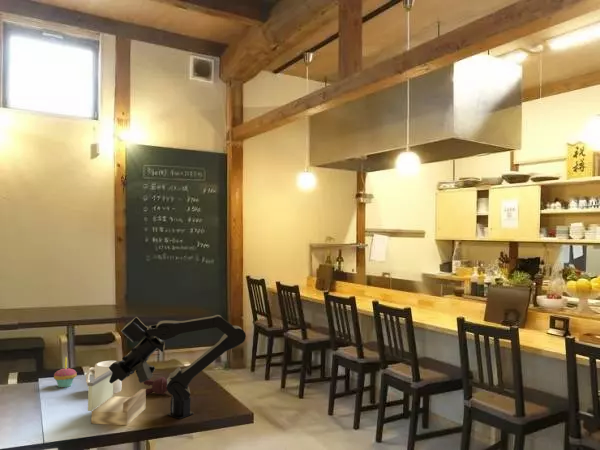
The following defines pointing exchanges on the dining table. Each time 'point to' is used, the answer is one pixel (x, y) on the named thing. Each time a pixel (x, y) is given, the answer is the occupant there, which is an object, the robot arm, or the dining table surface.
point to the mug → (101, 369)
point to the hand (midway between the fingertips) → (110, 382)
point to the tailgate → (99, 390)
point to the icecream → (157, 386)
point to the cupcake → (65, 376)
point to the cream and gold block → (119, 409)
